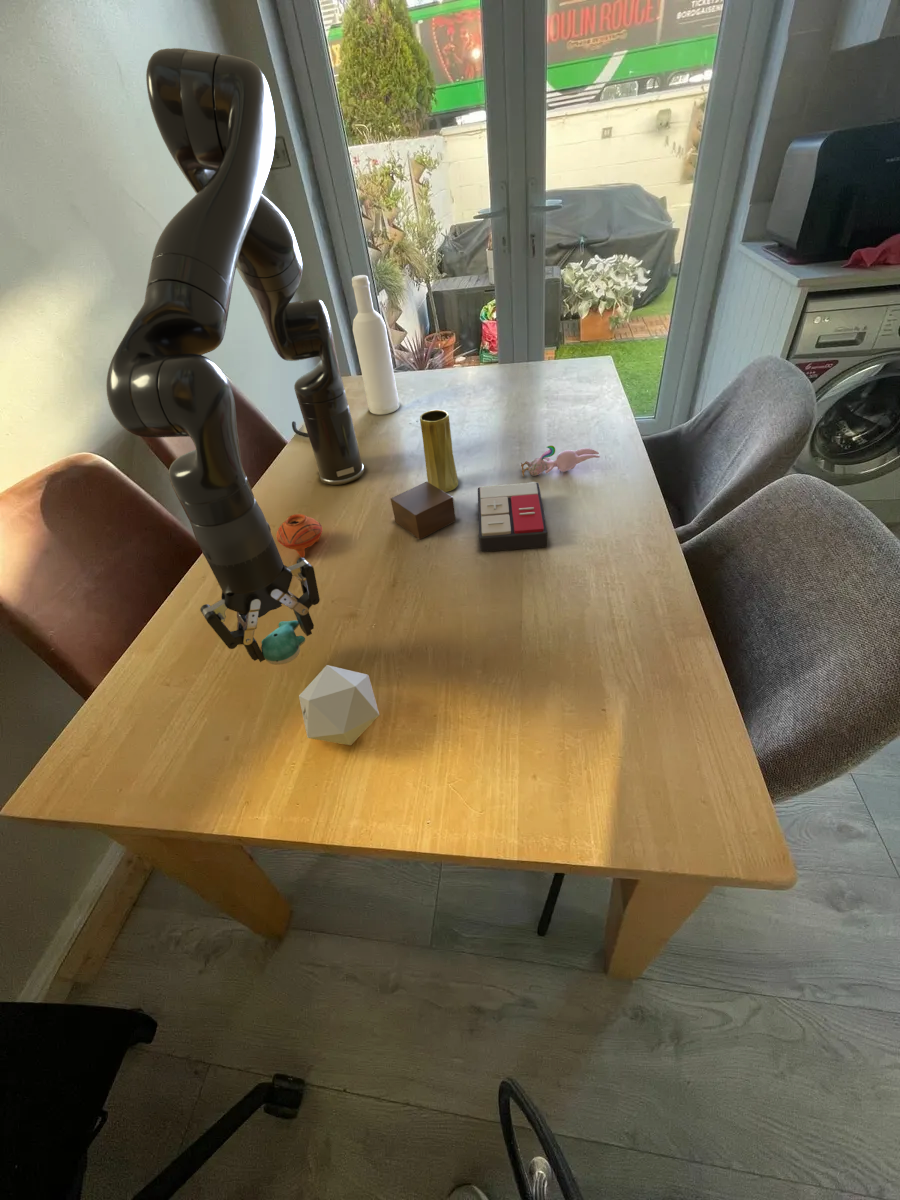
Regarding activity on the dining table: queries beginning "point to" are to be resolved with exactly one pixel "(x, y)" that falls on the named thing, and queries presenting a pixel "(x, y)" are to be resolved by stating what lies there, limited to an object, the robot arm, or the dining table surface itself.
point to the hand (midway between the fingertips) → (283, 644)
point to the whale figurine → (282, 644)
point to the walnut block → (423, 509)
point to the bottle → (373, 351)
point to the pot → (299, 533)
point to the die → (338, 705)
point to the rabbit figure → (558, 460)
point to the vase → (438, 450)
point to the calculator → (511, 517)
